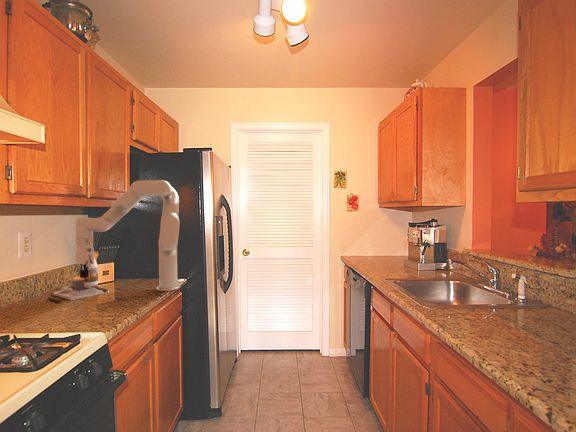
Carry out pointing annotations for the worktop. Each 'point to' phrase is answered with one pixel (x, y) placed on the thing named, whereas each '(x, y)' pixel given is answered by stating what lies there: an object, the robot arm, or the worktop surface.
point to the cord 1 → (55, 299)
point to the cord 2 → (100, 289)
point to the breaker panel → (77, 292)
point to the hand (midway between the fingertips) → (84, 277)
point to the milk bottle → (92, 275)
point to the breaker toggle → (78, 283)
